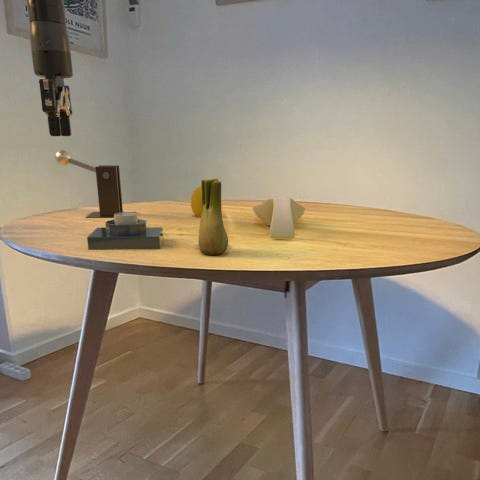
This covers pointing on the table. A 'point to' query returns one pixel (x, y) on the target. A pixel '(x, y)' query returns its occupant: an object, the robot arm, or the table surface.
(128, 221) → the flush button
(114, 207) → the lever bracket
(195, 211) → the lemon
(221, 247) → the fennel bulb
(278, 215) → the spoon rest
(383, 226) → the table surface
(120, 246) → the button block
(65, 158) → the flush lever
